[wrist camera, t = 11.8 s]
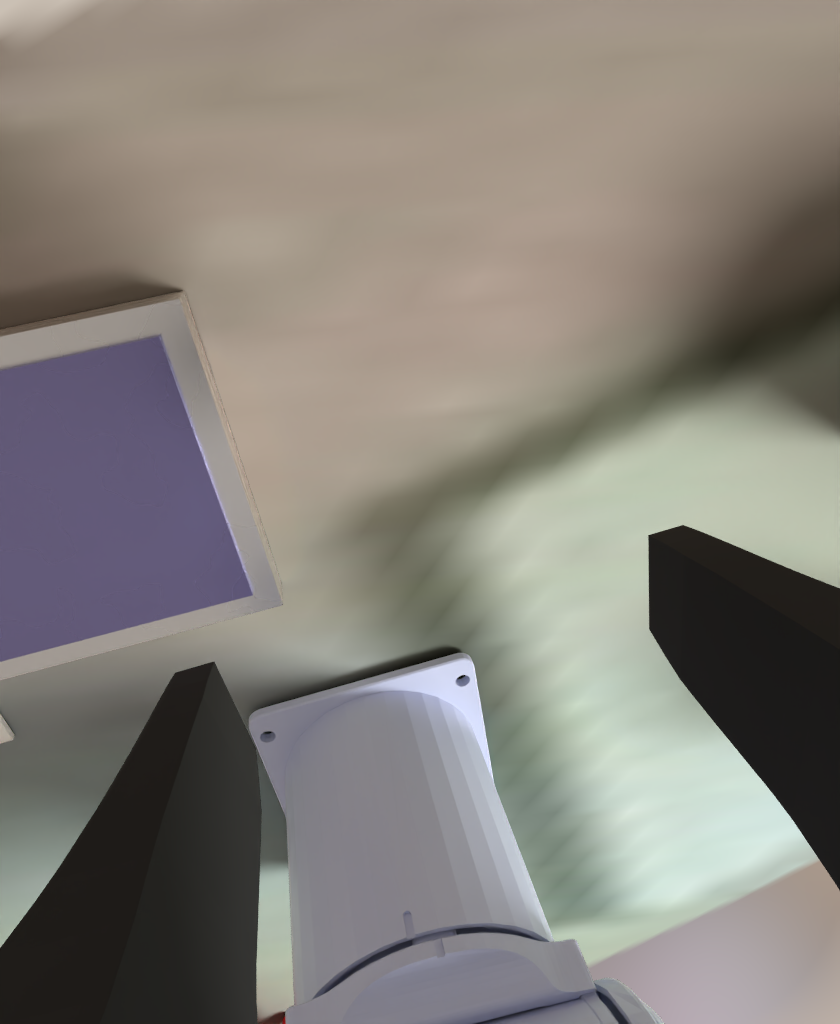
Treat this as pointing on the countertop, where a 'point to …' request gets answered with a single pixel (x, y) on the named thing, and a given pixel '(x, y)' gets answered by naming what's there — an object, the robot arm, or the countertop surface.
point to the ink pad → (119, 488)
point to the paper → (5, 731)
